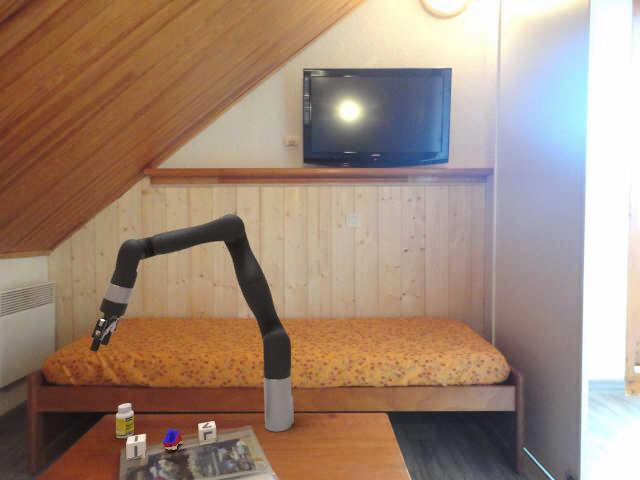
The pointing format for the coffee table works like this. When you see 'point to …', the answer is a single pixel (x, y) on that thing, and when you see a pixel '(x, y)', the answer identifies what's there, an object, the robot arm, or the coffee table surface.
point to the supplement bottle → (124, 421)
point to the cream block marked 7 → (207, 430)
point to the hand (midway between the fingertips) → (98, 347)
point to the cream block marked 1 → (136, 445)
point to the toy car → (172, 438)
